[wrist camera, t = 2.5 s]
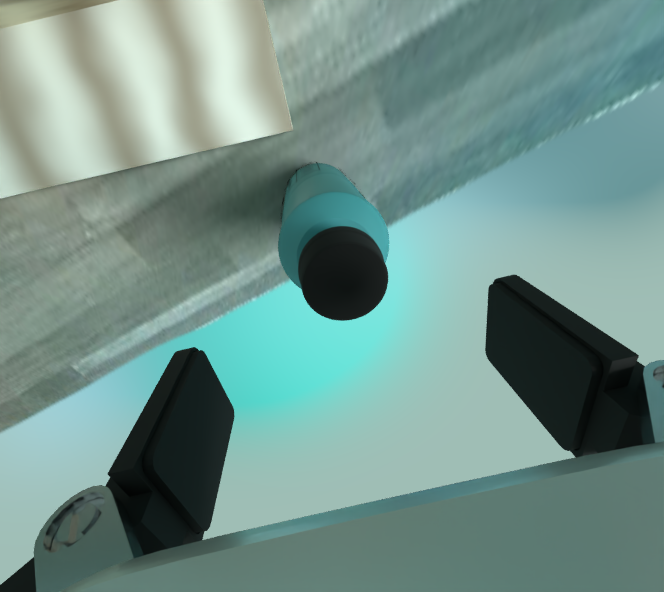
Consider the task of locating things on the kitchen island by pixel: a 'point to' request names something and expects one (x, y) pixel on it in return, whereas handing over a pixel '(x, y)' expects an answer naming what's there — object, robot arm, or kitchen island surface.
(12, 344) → the kitchen island surface
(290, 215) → the beverage bottle
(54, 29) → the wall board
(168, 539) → the robot arm
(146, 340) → the kitchen island surface
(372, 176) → the kitchen island surface
